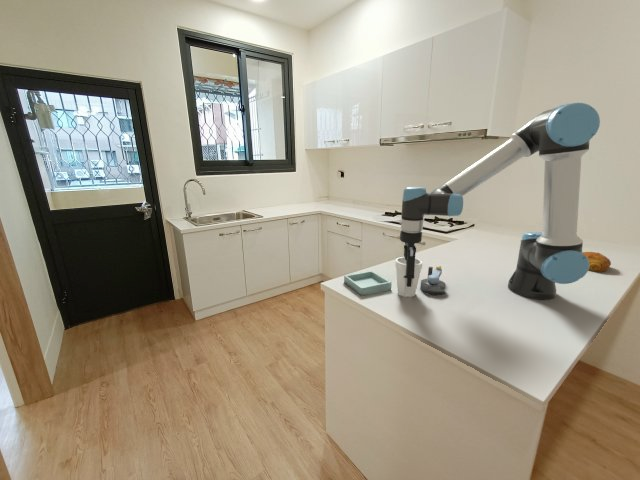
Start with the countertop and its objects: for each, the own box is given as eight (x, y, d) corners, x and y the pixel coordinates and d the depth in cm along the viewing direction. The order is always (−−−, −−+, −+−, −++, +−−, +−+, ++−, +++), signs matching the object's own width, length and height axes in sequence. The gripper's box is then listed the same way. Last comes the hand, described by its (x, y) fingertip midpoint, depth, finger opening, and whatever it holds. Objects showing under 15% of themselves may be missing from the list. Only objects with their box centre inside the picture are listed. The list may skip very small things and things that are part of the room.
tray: (391, 289, 116) (391, 282, 115) (361, 295, 110) (361, 288, 110) (371, 277, 128) (372, 270, 127) (344, 282, 123) (344, 275, 122)
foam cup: (405, 300, 106) (408, 266, 103) (388, 291, 114) (390, 259, 111) (424, 295, 111) (427, 262, 107) (407, 286, 118) (409, 255, 115)
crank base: (451, 292, 113) (453, 276, 111) (432, 297, 109) (433, 280, 107) (429, 281, 123) (430, 266, 122) (410, 285, 120) (411, 270, 118)
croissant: (607, 270, 140) (612, 254, 139) (608, 275, 129) (614, 257, 128) (569, 262, 150) (573, 247, 149) (566, 266, 139) (571, 249, 137)
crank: (437, 285, 111) (438, 277, 110) (426, 283, 113) (427, 275, 112) (443, 274, 122) (444, 266, 121) (433, 272, 124) (434, 264, 123)
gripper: (398, 223, 117) (395, 276, 123) (402, 237, 96) (398, 300, 102) (418, 224, 116) (413, 277, 122) (426, 239, 95) (420, 302, 101)
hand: (406, 288), depth 112 cm, fingers closed on foam cup, 9 cm apart
